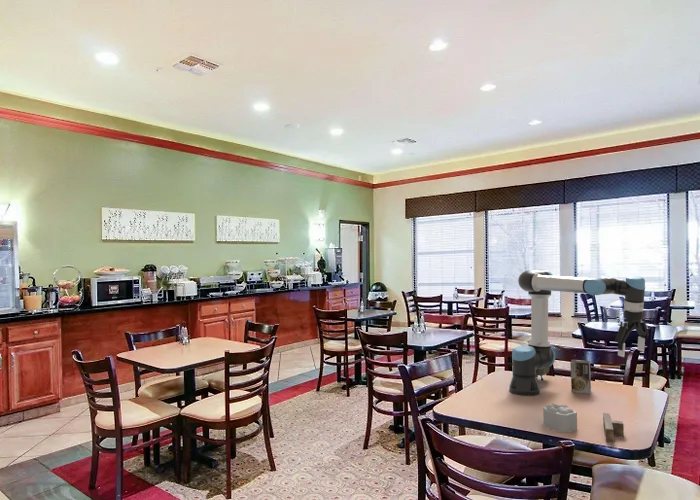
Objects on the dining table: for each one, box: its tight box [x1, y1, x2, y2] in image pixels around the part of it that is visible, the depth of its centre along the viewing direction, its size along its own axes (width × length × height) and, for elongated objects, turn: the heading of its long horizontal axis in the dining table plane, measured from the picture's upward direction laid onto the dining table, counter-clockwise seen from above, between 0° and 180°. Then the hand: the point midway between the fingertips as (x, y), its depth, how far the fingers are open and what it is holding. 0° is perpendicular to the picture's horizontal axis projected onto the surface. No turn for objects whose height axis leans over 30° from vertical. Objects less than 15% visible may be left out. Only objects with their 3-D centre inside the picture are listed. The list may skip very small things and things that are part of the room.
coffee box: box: [569, 359, 592, 395], centre depth 238 cm, size 9×6×16 cm
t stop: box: [602, 412, 625, 443], centre depth 180 cm, size 6×20×5 cm, turn 153°
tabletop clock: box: [536, 367, 550, 382], centre depth 262 cm, size 14×9×25 cm, turn 141°
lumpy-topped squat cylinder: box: [542, 403, 578, 434], centre depth 189 cm, size 10×13×9 cm
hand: (631, 353), depth 210 cm, fingers open, 13 cm apart
